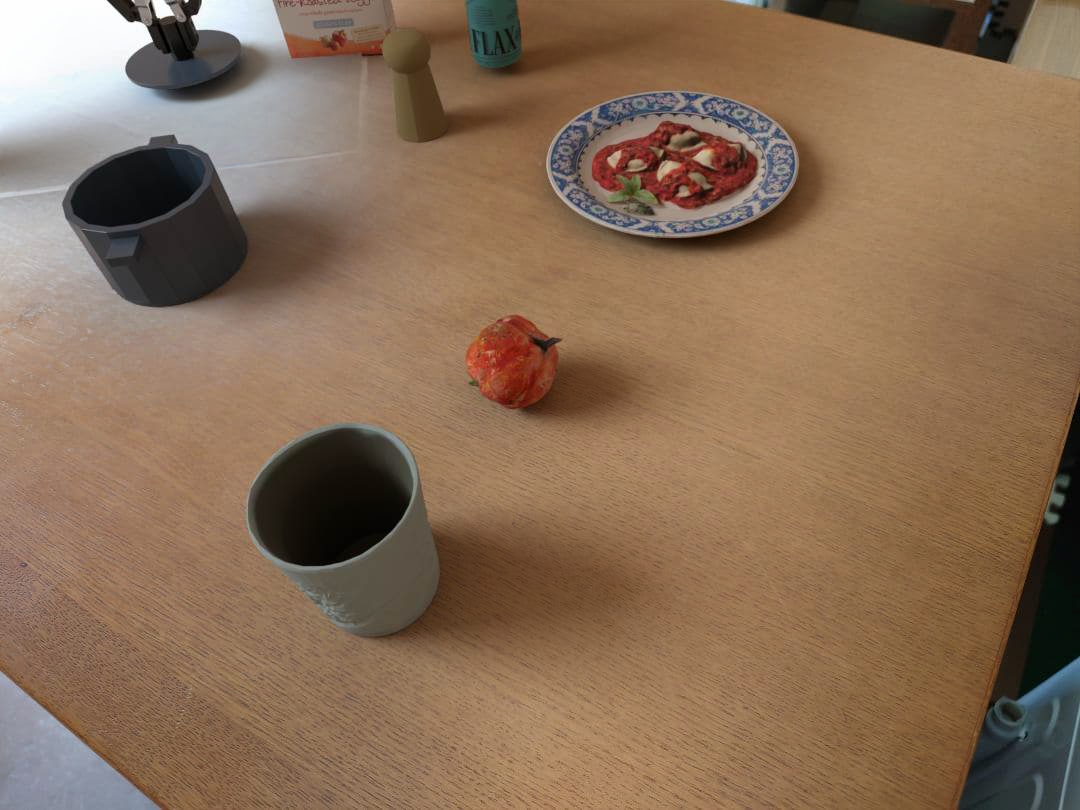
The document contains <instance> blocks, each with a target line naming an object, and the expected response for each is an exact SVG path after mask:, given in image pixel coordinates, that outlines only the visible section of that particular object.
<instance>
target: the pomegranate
mask: <svg viewBox="0 0 1080 810" xmlns="http://www.w3.org/2000/svg"><path fill="white" fill-rule="evenodd" d="M562 341H563V337H555V336H552V337H550V336H548V334H546V333H544V332H542V331H541V330H540V329H539V328H538V327H537V325H536V324H535V323H534V322H533V321H531V320H529V319H527V318H525V317H524V316H523V315H522V316H521V315H519V314H508V315H505V316H502V317H499V319H497V320H496V321H495V322H494V323H492V324H489V325H487V327H485V328H483V329H482V330H481V331H480V332H479V334H477V336H476V337H475V338H474V339H473V341H472V342H471V344H470V345H469V346H468V347H467V350H466V353H465V361H464V362H465V367H466V368H465V369H466V372H467V374H468V376H469V377H470V379H471V380H470V381H468V382H467V384H468V385H469V386H472V385H475V384H477V386H478V388H479V392H480V394H481V395H482V397H484V398H485V399H487V400H489V401H492V402H493V403H497V404H499V405H501V406H503V407H504V408H505V409H508V410H517V409H522V408H524V407H529V406H531V405H533V404H535V403H537V402H538V401H539V400H541V399H542V398H543V397H544V396H545V395H546V394H547V393H548V392H549V391H550V390H551V388H552V385H553V383H554V380H555V378H556V372H555V369H556V368H557V365H558V362H559V351H558V348H557V345H556V344H558V343H560V342H562Z"/></svg>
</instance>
